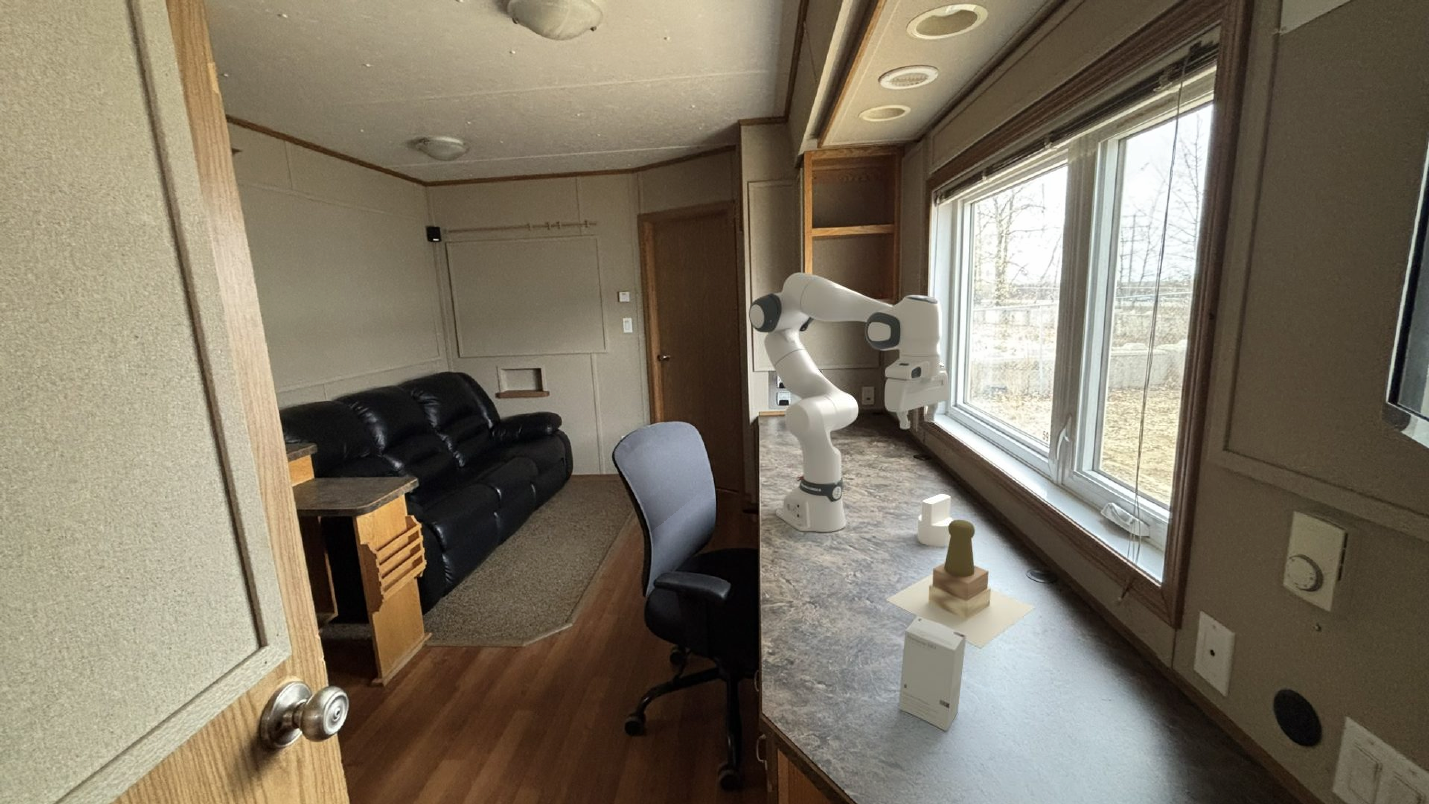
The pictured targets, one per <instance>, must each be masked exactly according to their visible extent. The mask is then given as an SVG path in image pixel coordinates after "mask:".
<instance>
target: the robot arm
mask: <svg viewBox="0 0 1429 804" xmlns="http://www.w3.org/2000/svg"><path fill="white" fill-rule="evenodd" d="M782 287H783V288H782V291H781V292H778V293H772V292H771V293H768V294H766V295H763V296H760V297H758V298H757V299H755V300H754V301H752V302H751V304H750V306H749V310H748V318H749V322H750V324H751V326H752V327H753V329H755V331H757V332H759V333H764V334H765V333H766V336H765V337H764V340H763V342H764V343H763V344H764V345H763V346H764V348H765V351H766V354H767V356H768V359H769V361H770V363H771V365H772V367H773V369H774V370H775V373H776V374H777V376H778V378H779V380H780V381H781V383H782V385H783V386H784V388H785V390H786V391H787V392H789V393H791V394H793V395H795V396H797V397H799V398H800V400H797V401H796V402H794V403H792V404H791V405H789V406H788V407H787V409H786V410H785V413H784V424H785V426H786V429H787V431H788V432H789V433H790V434H791V435H792V436H793V437H795V438H796V440H797V441H798V443H799V445H800V449H801V451H802V464H803V465H802V466H803V467H802V468H803V473H802V476H798V477H796V479H797V480H796V481H797V482H799V486H797V487H796V488H795V489H793V490H791V491H790V492H789V493H787V494H786V495H785V496H784V498H783V502H782V503H783V504H782V506H781V507H779V508H778V509H776V511H775V515H776V516H777V517H779V518H780V519H782V520H783V521H785V522H786V523H787V524H789V525H791V526H792V527H793V528H795V529H797V531H800V532H820V533H821V532H822V533H824V532H825V533H827V532H828V533H829V532H835V531H838V530H841V529H843V528H845V527H846V526H847V523H848V522H847V518H846V512H845V509H844V508H845V507H844V502H843V490H844V489H843V488H844V482H843V480H844V479H843V477H842V453H841V450H839V449H838V448H837V447H836V446H835V445H833V443H832V439H831V432H835V431H837V430H841V429H844V428H846V427H848V426H849V425H850V424H852V423H853V422H854V421H856V419H857V417H858V414H859V405H858V402H857V400H856V399H855V397H853V396H852V395H851V394H850V393H847V392H845V391H842V390H841V389H839V388H838V387H837V386H835V385H834V384H833V383H832V382H831V381H830V380H829V379H827V377H825V376H824V374H823V373H822V372H821V371H820V370H819V368H818V366H817V365H816V363H815V362H814V360H813V358H812V357H811V355H810V354H809V353H808V351H807V349H806V347H805V346H804V344H803V343H802V341H801V339H800V335H799V333H800V332H805V331H807V330H808V328H809V325H810V324H811V323H813V321H814V320H817V321H821V322H825V323H827V322H828V323H833V322H834V323H835V322H838V323H839V322H863V323H865V325H864V337H865V339H866V341H867V343H868V345H869V346H870V347H872V348H873V349H875V350H878V351H892V350H899V358H897V359H896V360H895V361H894V362H893V363H891V364H890V365H888V366H887V367H886V368H885V370H884V371H885V372H884V376H885V377H886V378H887V379H886V382H885V386H884V406H885V409H886V410H887V411H888V412H893V413H896V416H897V418H898V420H899V428H900V429H902V430H907V429H910V427H911V420H909V419H908V416H907V415H909V411H911V410H914V409H918V408H923V407H927V409H926V412H925V413H924V414H923V415H924V416H923V418H924V419H923V421H924V422H926V423H932V422H935V414H936V413H937V411H938V410H937V409H938V408H939V403H943V402H947V400H948V398H949V395H950V385H949V375H948V373H947V368H946V367H945V365H944V364H943V363H942V362H941V349H940V340H941V338H942V330H943V329H942V321H943V319H942V309H941V305H940V301H938V299H936V298H935V297H933V296H930V295H929V296H928V295H919V294H911V295H905V296H904V297H903V298H902V300H901V301H899V302H898V303H896V304H890V303H888V302H884V301H882V300H878V299H877V298H873V297H869V296H867V295H863V294H862V293H859V292H857V291H855V290H852V289H849V288H848V287H845V286H843V285H841V284H838V283H836V282H834V281H832V280H829V279H827V278H825V277H822V276H819V275H816V274H812V273H807V272H794V273H792V274H790V276H789V277H787V279H786V280H785V281H784V283H783V286H782Z"/></svg>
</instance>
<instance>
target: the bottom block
mask: <svg viewBox="0 0 1429 804" xmlns="http://www.w3.org/2000/svg"><path fill="white" fill-rule="evenodd" d="M991 589H992V588H991V587H987V589H985V590H984V591H982V592H981V593H979V594H978V595H976V596H974V597H973V598H971V599H970V600H968V601H966V600H963V599H961V598H959V597H957V596H955V595H952V594H950V593H948V592H946V591H943V590H941V589H939V588H937V587H935V586H933V584H931V585H929V601H928V602H930V603H932V604H934V605H936V606H938V607H940V608H942V609H944V610H946V611H948V612H950V613H953V614H955V615H957V616H959V617H961V618H963V619H965V620H968V619H970V618H971V617H973V616H974V615H976V614H977V613H979V612H980V611H982V610H983V609H985V608H986V607H988V606H989V605H990V595H991Z"/></svg>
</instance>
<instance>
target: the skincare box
mask: <svg viewBox="0 0 1429 804" xmlns="http://www.w3.org/2000/svg"><path fill="white" fill-rule="evenodd" d="M915 616H916V615H915ZM903 641H904V643H903V651H902V652H903V653H902V654H903V656H902V664H901V677H900V688H899V700H898V701H899V703H898V707H899V710H901V711H903V712H906V713H908V714H910V715H912V716H915V717H917V718H919V719H921V720H924V721H926V722H928V723H929V724H932V725H933V726H935V727H937V728H940V729H941V730H942V731H945V732H948V731H949V728H950V726H951V725H952V723H953V721H954V719H955V718H956V715H957V714H958V712H959V705H960V696H961V695H960V694H961V684H962V677H963V667H964V656H965V648H966V642H967V641H966V634H963V633H961V632H958V631H956V630H953V629H950V628H948V627H946V626H944V625H942V624H940V623H936V622H932V621H929V620H927V619H924V618H921V617H919V616H916V617H914V619H913V621H912V622H911V623H910V624H909V626H908V627H907V628H906V629H905V633H904V640H903Z"/></svg>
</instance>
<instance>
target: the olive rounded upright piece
mask: <svg viewBox="0 0 1429 804" xmlns="http://www.w3.org/2000/svg"><path fill="white" fill-rule="evenodd" d="M948 531H949V534H950V535H951V536H950V541H949V546H947V552H946V557H945V562H944V563H945V566H944V569H945V570H946V571H947V572H949V573H950V574H953V575H956V576H962V577H964V576H971V575H973V574H974V566H975V565H974V564H975V563H974V552H973V551H974V550H973V542H972V539H973V538H974V537H975V532H976V529H975V526H974V525H973V523H972V522H970V521H968V520H965V519H953V521H951V523H950V524H949V526H948Z"/></svg>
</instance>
